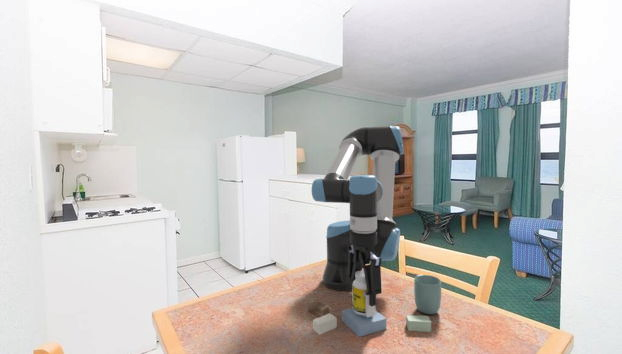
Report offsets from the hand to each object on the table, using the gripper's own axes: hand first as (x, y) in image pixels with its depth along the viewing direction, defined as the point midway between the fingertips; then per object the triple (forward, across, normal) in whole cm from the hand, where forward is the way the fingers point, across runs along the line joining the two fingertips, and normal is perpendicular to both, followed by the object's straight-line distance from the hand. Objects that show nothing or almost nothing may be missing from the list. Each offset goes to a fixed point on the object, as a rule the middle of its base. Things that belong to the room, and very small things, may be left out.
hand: (363, 309), depth 86 cm
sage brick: (+5, +8, +13) cm, 16 cm away
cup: (+5, +2, +22) cm, 23 cm away
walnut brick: (+5, -11, -9) cm, 15 cm away
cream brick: (+5, -3, -11) cm, 12 cm away
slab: (+4, 0, 0) cm, 4 cm away
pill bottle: (+1, 0, 0) cm, 1 cm away
